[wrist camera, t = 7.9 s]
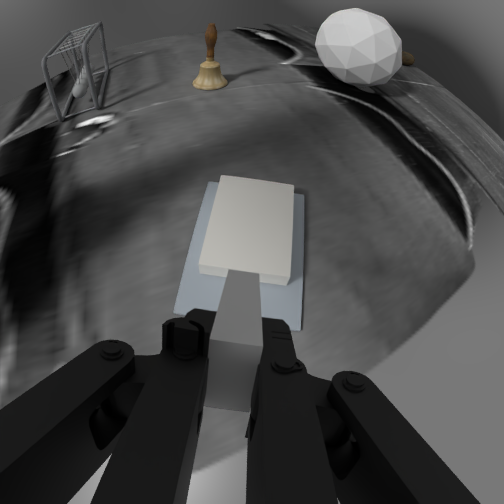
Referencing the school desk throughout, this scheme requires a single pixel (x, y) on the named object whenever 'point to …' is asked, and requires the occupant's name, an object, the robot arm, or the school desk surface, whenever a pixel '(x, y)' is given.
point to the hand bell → (210, 65)
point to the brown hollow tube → (407, 58)
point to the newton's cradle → (78, 71)
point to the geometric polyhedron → (359, 47)
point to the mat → (211, 287)
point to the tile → (250, 230)
